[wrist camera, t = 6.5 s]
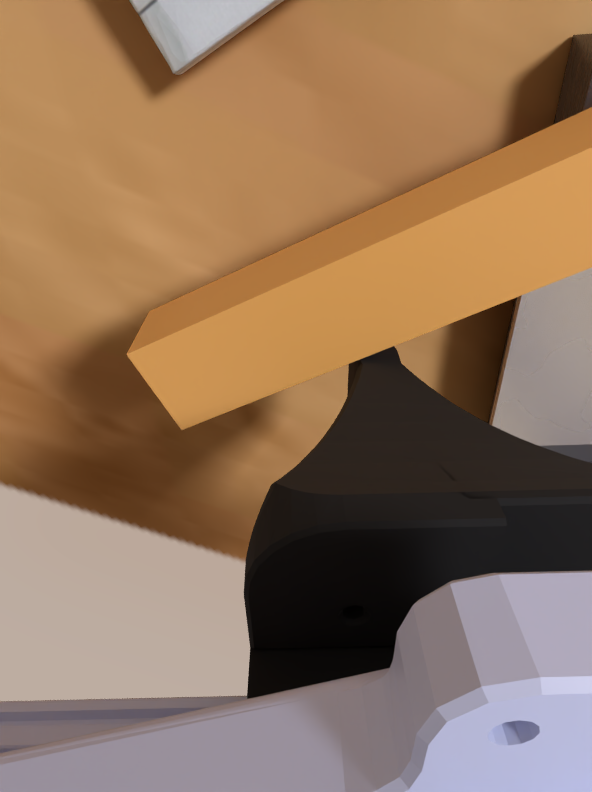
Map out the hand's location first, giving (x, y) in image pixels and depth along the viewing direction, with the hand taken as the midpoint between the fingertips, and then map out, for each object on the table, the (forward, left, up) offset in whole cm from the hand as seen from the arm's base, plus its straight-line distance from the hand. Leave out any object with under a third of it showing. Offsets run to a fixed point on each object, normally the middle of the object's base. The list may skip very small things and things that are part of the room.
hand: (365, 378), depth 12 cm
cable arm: (+4, -2, 0) cm, 4 cm away
